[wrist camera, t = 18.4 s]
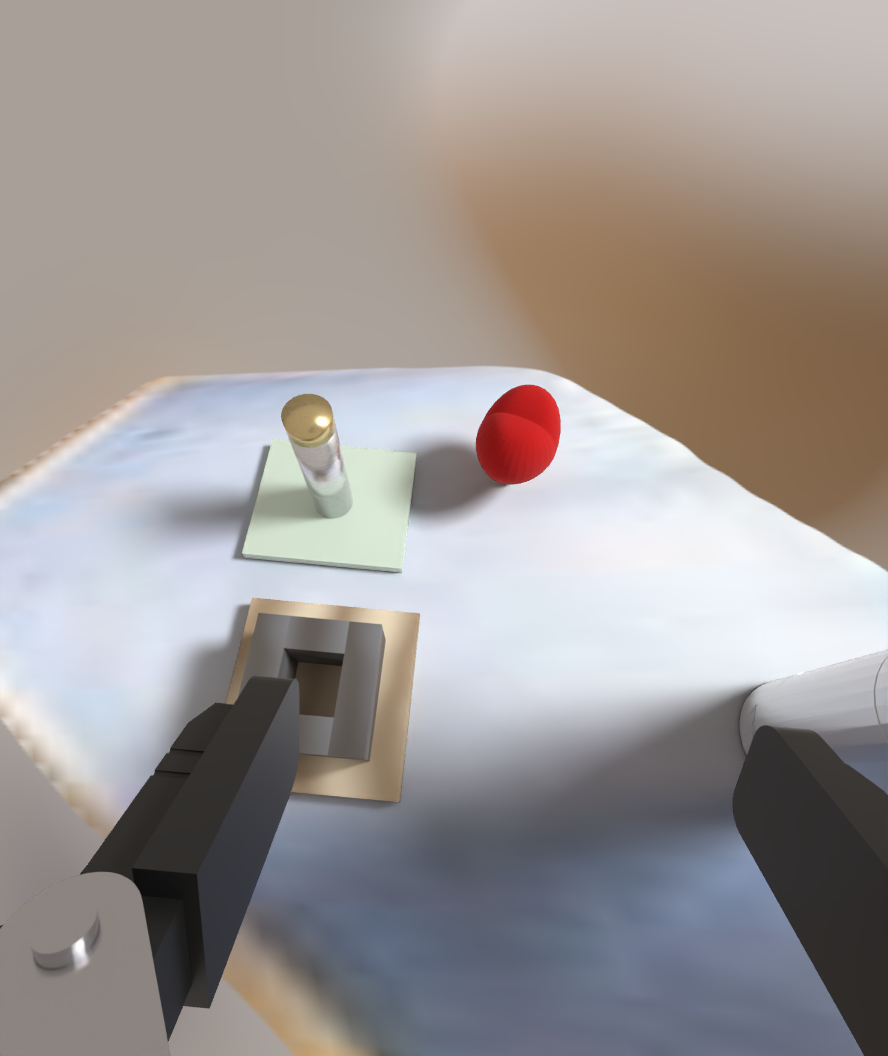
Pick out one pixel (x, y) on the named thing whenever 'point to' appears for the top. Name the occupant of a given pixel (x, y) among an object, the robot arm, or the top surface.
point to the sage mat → (349, 541)
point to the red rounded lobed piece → (519, 435)
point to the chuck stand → (338, 689)
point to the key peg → (318, 453)
